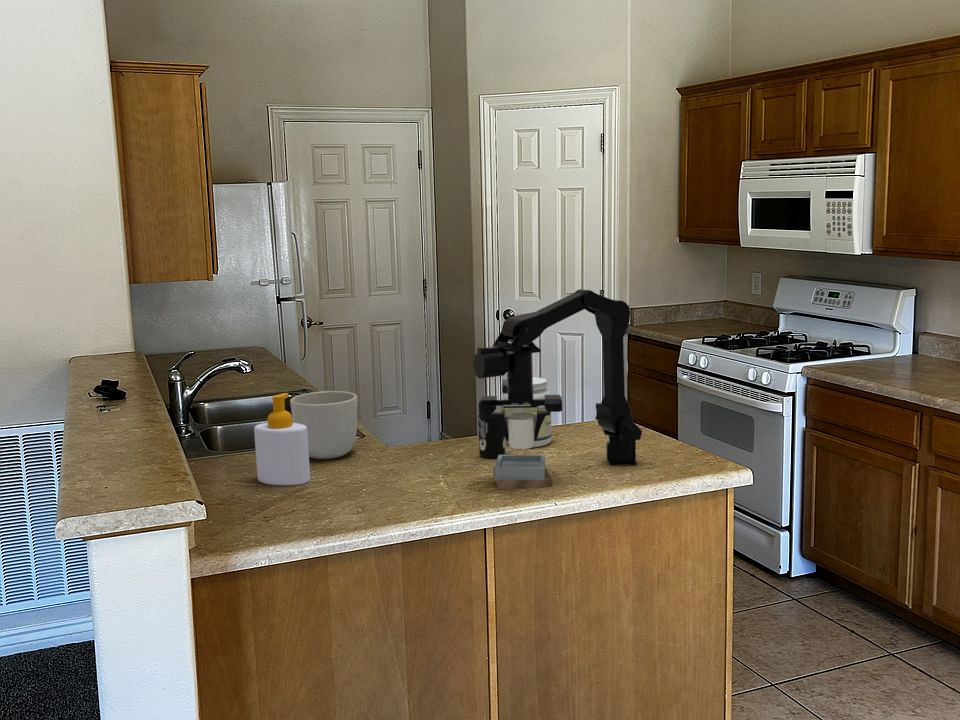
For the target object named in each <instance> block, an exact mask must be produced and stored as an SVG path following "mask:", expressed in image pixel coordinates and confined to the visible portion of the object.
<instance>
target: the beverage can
mask: <svg viewBox="0 0 960 720" xmlns="http://www.w3.org/2000/svg"><path fill="white" fill-rule="evenodd" d="M477 419H478V447H479V448H478V453H479V455H480V456H481V457H482V458H483V459H484V458H485V459H497V458H498V455H506V454H505V453H506V438H505V436H504V433H503V430H502V428H501V426H500V424H499V422H498V420H497V419H496V417H493V416H491V413H479V412H478V417H477Z"/></svg>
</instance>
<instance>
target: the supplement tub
mask: <svg viewBox="0 0 960 720" xmlns="http://www.w3.org/2000/svg"><path fill="white" fill-rule="evenodd" d="M547 388H548V380H547V379H545V378H543V377H535V376H534V377H533V399H545V395H551V392H550V390H549V389H547ZM504 400H508V394H504ZM511 404H512V403H511ZM516 404H517V403H516ZM523 404H524V403H523ZM525 404H530V403H525ZM537 408H538V407H536V408H505V414H506V416H507V415H509V414H514V413H530V414H534V415H536V416H537ZM535 425H536V422H535ZM552 439H553V438H552V412H550V415H549V416H545V418H544V421H543V423H542V425H541V428H540V431H539V434H538V437H537V441H535V436H534V446H533V447H532V448H539V447H543V446H544V447H545V446H547V445H548V444H550V443H551V441H552ZM506 442H507V444H508V445H509V441H506Z"/></svg>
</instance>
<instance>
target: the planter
mask: <svg viewBox="0 0 960 720" xmlns="http://www.w3.org/2000/svg"><path fill="white" fill-rule="evenodd" d="M289 401H290V409H291V416H292V423H298V424H302V425H305V426H306V427H307V436H308V451H309V459H310V458H311V459H316V460H331V459H336V458H341V457H343V456H345V455H346V454H348V453H349V452H350V451H351V450H352V449H353V448H354V445H355V442H356V439H357V433H358V432H357V424H358V395H357V394H356V393H355V392H349V391H345V390H344V391H341V390H325V391H324V390H323V391H315V392H308V393H302V394H299V395H296V396H295V395H294V397H291V398H290V400H289Z"/></svg>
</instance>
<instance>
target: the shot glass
mask: <svg viewBox="0 0 960 720" xmlns="http://www.w3.org/2000/svg"><path fill="white" fill-rule="evenodd" d="M506 422H507V431H508V439H509V444H508V446H509V448H511V449H514V450H526V449H531V448H532V447H533V446H534V436H535V422H536V415H534V414H530V413H514V414H509V415H507V416H506ZM533 448H534V447H533Z"/></svg>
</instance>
